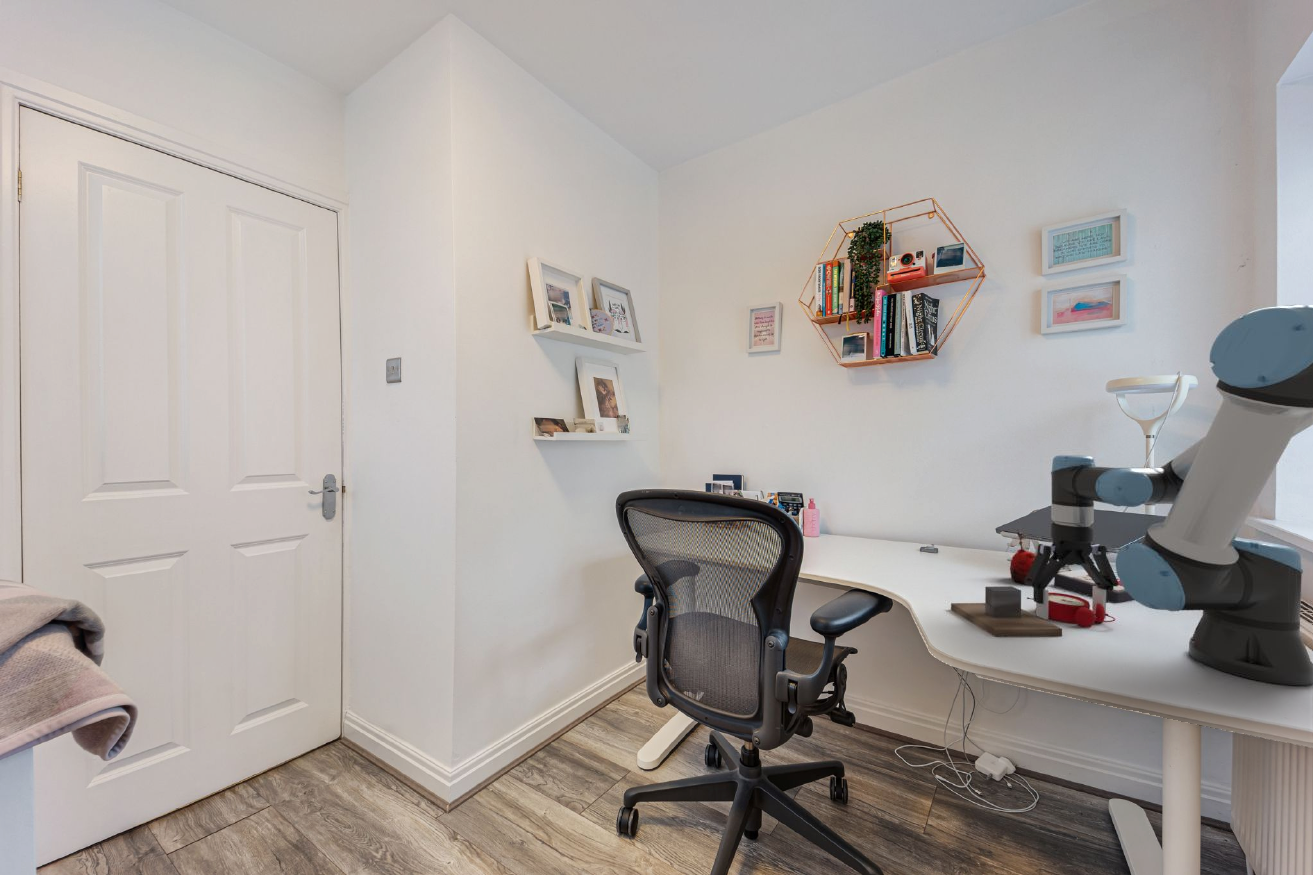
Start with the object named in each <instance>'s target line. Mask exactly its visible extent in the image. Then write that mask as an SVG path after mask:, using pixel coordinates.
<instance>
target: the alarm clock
mask: <svg viewBox="0 0 1313 875" xmlns="http://www.w3.org/2000/svg"><path fill="white" fill-rule="evenodd" d="M1026 599H1027V600H1033V598H1030V597H1026ZM1033 601H1034V600H1033ZM1095 615H1096V616H1095ZM1105 616H1106V617H1109V618H1111V620H1105V619H1104V618H1105ZM1048 619H1051V620H1055V621H1059V622H1064V623H1070V624H1077V625H1078V626H1079V627H1083V628H1090V627H1092V626H1093V624H1095V623H1096V622H1097V623H1096V624H1102V623H1111V622H1115V621H1116V618H1115V617H1113V616H1112V615H1109V614H1108V613H1106V614H1105V609H1104V607H1103V605H1101V604H1097V605H1096V614H1094V612H1093V611H1092V609H1091V604H1090V601H1088V600H1087V599H1085V598H1082V597H1079V596H1077V595H1072V594H1067V593H1060V592H1049V598H1048Z"/></svg>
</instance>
